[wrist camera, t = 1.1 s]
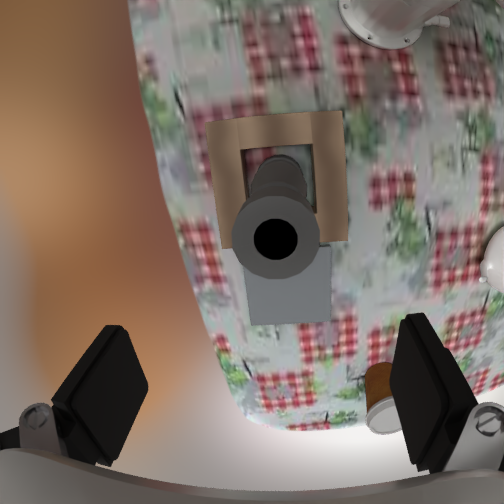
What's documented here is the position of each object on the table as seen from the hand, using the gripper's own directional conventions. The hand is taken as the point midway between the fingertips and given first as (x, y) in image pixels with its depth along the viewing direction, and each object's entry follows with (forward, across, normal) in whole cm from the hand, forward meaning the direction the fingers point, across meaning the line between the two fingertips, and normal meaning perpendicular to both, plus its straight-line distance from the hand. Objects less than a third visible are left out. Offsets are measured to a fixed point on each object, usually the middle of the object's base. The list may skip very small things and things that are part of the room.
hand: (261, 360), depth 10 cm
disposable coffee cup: (+36, -17, +38) cm, 55 cm away
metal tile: (+36, 0, +17) cm, 40 cm away
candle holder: (+36, 0, 0) cm, 36 cm away
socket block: (+36, 0, 0) cm, 36 cm away
